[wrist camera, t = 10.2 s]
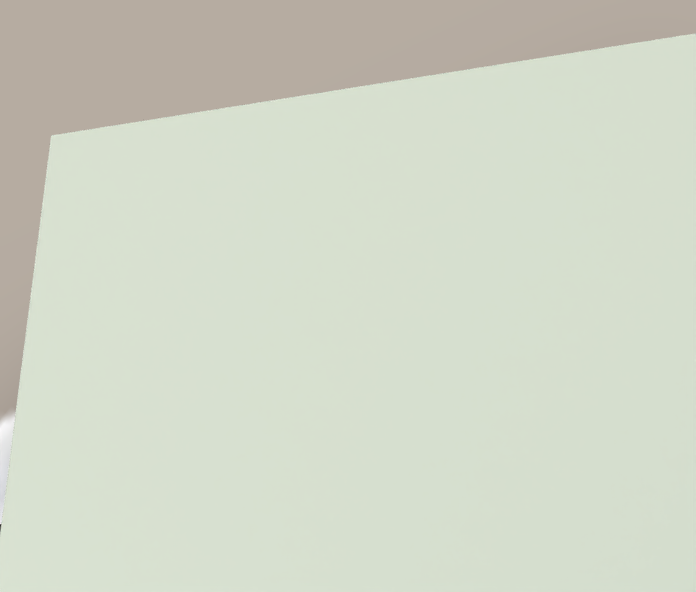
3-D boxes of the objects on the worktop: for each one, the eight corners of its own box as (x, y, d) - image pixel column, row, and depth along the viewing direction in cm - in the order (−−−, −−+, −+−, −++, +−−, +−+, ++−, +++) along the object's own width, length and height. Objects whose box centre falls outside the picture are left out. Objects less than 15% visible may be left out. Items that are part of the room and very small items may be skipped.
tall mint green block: (552, 405, 15) (837, 11, 4) (612, 680, 13) (1522, 1287, 2) (318, 431, 16) (51, 135, 5) (335, 700, 14) (-96, 1278, 3)
